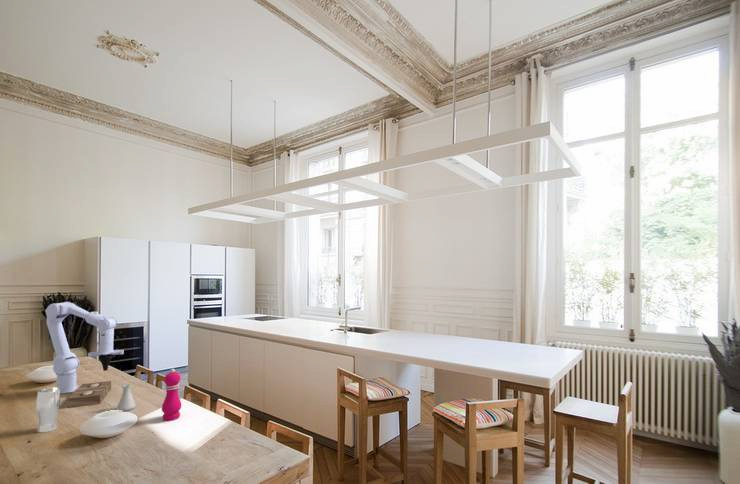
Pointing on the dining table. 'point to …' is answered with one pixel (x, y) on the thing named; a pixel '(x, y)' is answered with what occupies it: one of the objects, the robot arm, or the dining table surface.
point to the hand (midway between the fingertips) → (105, 370)
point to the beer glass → (47, 408)
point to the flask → (126, 399)
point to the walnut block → (92, 399)
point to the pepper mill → (171, 397)
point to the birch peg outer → (87, 393)
